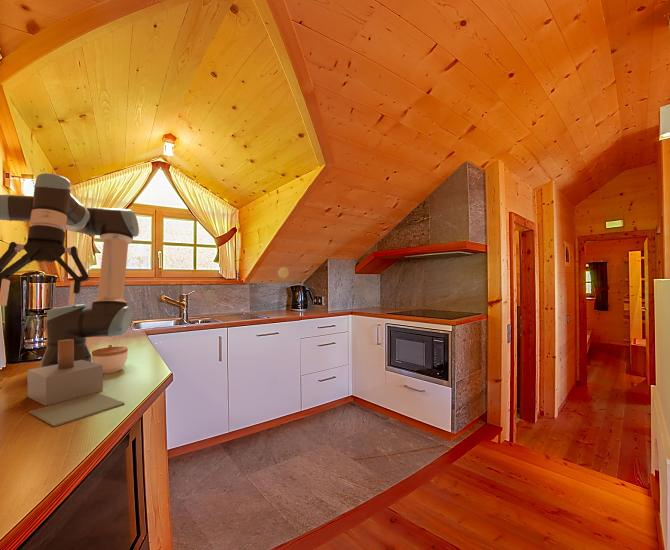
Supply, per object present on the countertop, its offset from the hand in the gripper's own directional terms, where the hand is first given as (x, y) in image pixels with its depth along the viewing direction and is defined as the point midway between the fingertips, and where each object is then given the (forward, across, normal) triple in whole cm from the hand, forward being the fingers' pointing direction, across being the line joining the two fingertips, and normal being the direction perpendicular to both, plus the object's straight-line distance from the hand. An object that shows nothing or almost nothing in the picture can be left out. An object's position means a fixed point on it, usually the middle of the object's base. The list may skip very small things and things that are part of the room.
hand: (38, 305), depth 84 cm
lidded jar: (+20, +14, +35) cm, 42 cm away
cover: (+24, +5, +14) cm, 28 cm away
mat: (+27, +11, -1) cm, 29 cm away
